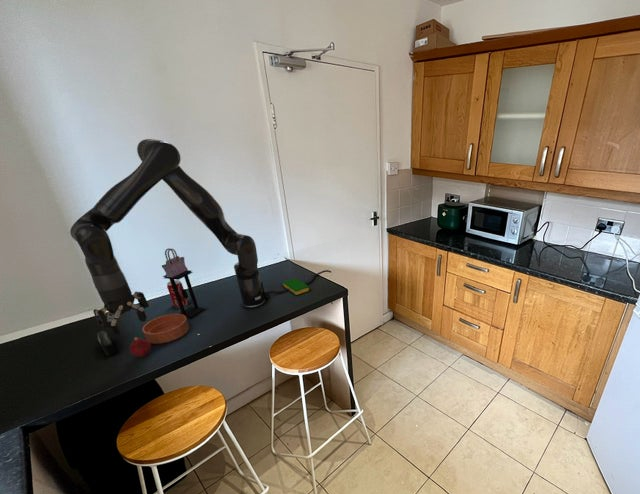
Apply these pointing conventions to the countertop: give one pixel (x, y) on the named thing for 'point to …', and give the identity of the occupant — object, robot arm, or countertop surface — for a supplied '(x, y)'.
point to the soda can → (179, 287)
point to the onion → (140, 347)
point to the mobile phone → (105, 343)
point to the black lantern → (177, 271)
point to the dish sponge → (296, 286)
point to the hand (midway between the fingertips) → (130, 327)
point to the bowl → (165, 328)
